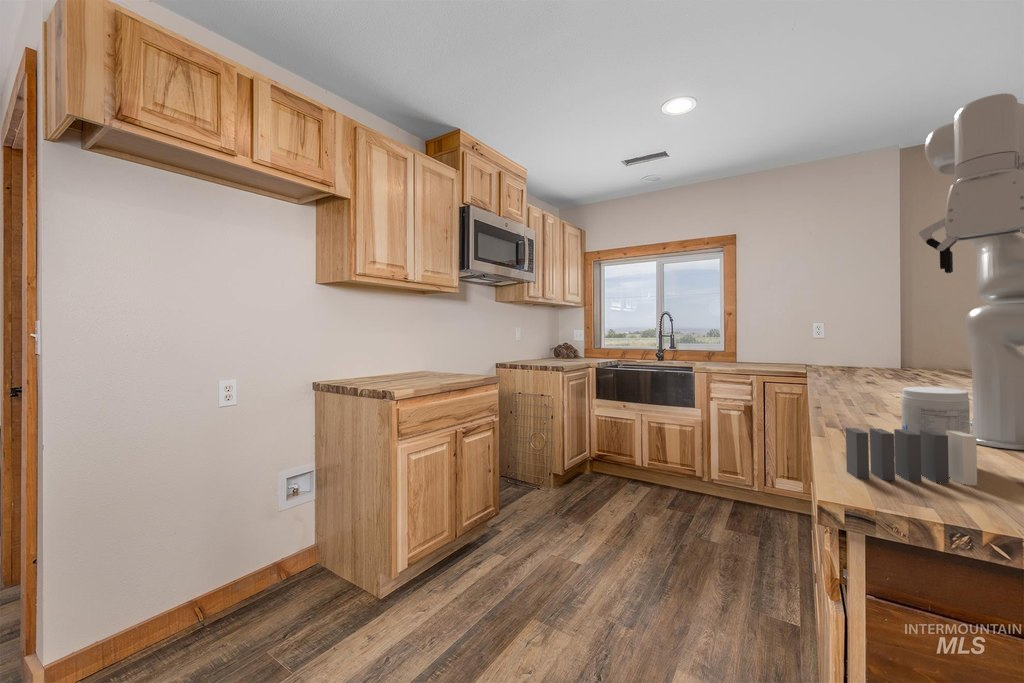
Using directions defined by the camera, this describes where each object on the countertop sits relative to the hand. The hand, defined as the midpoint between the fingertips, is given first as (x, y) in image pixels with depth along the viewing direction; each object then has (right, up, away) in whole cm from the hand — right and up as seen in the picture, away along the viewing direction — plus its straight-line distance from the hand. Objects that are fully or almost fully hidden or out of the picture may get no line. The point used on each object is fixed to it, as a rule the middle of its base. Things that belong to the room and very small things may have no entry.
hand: (987, 268), depth 74 cm
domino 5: (-5, -37, -1) cm, 38 cm away
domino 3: (-13, -38, +2) cm, 40 cm away
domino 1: (-20, -38, +4) cm, 43 cm away
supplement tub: (0, -37, +9) cm, 38 cm away
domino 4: (-9, -38, +1) cm, 39 cm away
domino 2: (-16, -38, +3) cm, 41 cm away
